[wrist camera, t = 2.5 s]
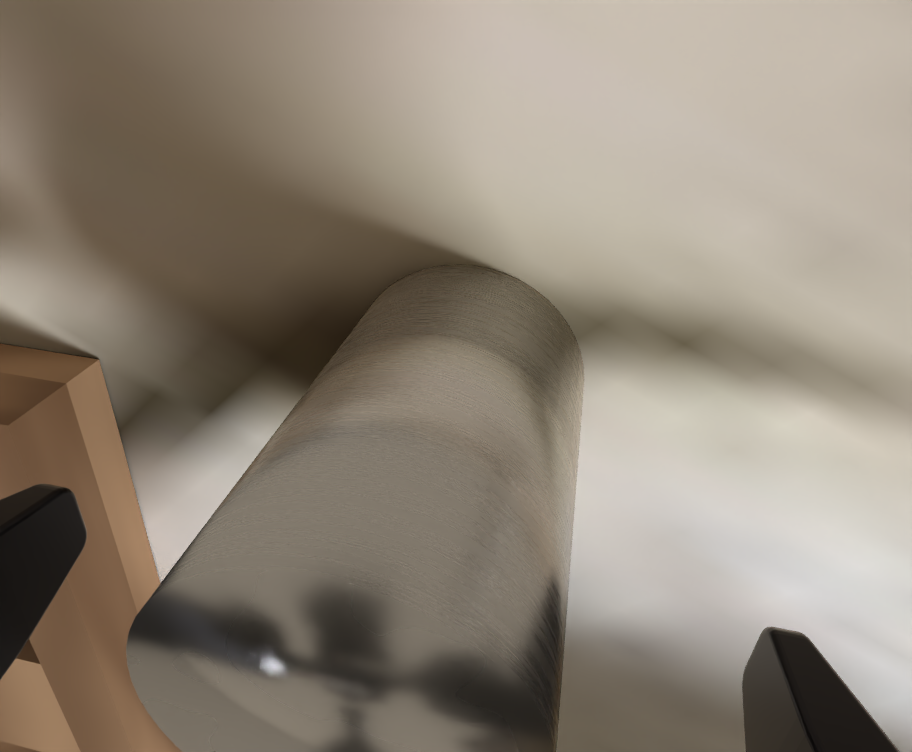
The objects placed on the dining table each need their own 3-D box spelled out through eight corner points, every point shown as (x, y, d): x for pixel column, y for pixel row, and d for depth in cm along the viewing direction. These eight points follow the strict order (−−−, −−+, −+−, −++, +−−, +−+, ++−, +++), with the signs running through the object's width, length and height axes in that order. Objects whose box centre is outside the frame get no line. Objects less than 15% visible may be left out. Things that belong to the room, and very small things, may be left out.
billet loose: (602, 281, 11) (590, 633, 5) (566, 483, 13) (527, 885, 7) (351, 250, 11) (77, 527, 6) (358, 447, 14) (169, 789, 8)
